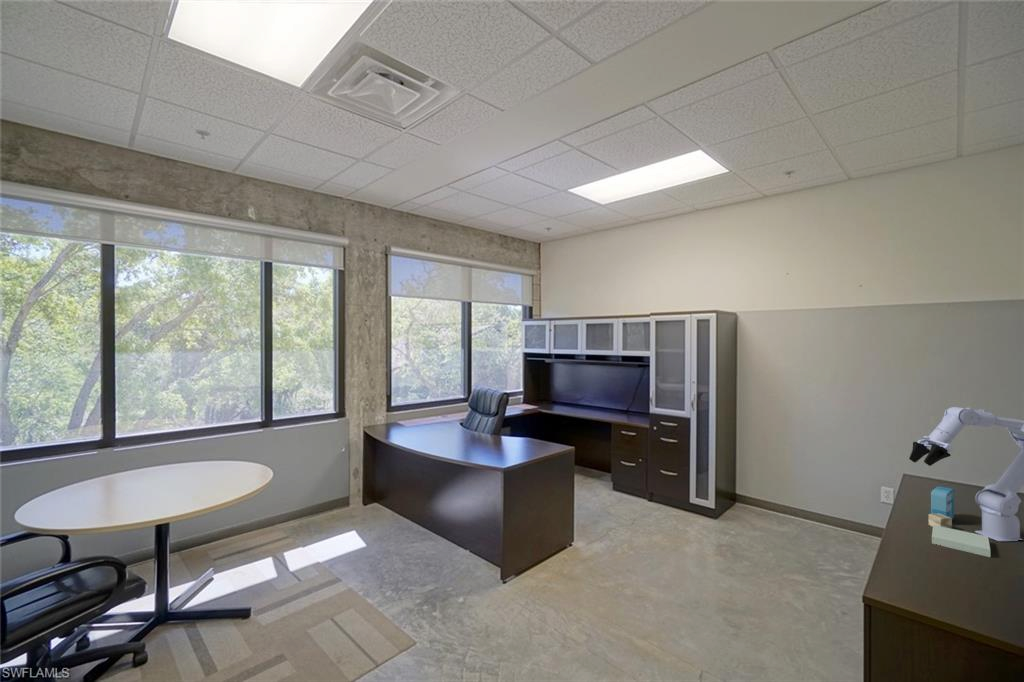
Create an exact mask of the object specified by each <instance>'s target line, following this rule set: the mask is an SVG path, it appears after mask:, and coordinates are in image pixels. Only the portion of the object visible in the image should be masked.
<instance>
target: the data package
mask: <svg viewBox="0 0 1024 682" xmlns="http://www.w3.org/2000/svg"><path fill="white" fill-rule="evenodd" d="M930 514H942V515H944V516H947V517H950V518H952V520H954V518H955V490H954V489H953V488H950V487H945V486H937V487H935V488H934V489H932V491H931V492H930Z"/></svg>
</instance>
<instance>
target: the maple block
mask: <svg viewBox="0 0 1024 682" xmlns="http://www.w3.org/2000/svg"><path fill="white" fill-rule="evenodd" d="M952 520H953V519H952V518H950V517H947V516H944V515H942V514H931V513H928V526H929V525H930V527H932V528H933V525H936V526H941V527H946V528H951V529H953V522H952Z"/></svg>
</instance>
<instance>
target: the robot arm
mask: <svg viewBox="0 0 1024 682" xmlns="http://www.w3.org/2000/svg"><path fill="white" fill-rule="evenodd" d="M943 414H944V416H943V417H942V419H941V421H940V423H938V425H937V426H936V427H935V428H934V430H932V431H931V432H930V434H929V435H928V436H927V435H923V436H922V438H923V439H918V440H917V441H913V442H912V449H911V453H910V456H909V457H908V460H910V461H911V462H913V463H917V462H918V461H920V460H921V459H922V458H923V457H924V456H926V457H925V458H924V460H923V463H925V464H926V465H928V466H929V467H931V466H932V465H933V466H934V464H935V463H938V462H939V461H941V460H943V459H945V458H949V457H951V456H952V455H951V454H950V452H952V451H953V449H954V448H955V447H954V446H953V445H951V443H952V441H954V439H955V438H956V437H957V436H958V435H959V433H960V432H961V431H963V429H964V428H965V427H966V426H975V427H982V428H990V427H992V426H998V427H1001V428H1006V429H1005V430H1006V431H1007V432H1009V435H1010V437H1011V439H1013V441H1014V442H1015V444H1016V445H1017V446H1018V447H1019V448H1020V450H1021V451H1020V452H1019V453H1018V454H1017V456H1016V457H1015V458H1014V459H1013V461H1012V462H1011V464H1010V465H1009V466H1008V468H1006V470H1005V471H1004V473H1003V474H1002V475H1001V477H1000V478H999V479H998V480H997V482H996V483H995V484H994V483H993V484H988V485H986V486H984V487H983V488H982V490H979V491H977V492H976V494H975V497H974V500H975V503H976V505H978V506H979V509H980V510H981V530H974V533H975V534H979V535H984V536H988V539H992V540H995V541H997V542H1019V541H1018V540H1023V541H1024V539H1023V538H1021V522H1020V519H1019V517H1017V516H1016V513H1018V511H1019V506H1020V504H1021V503H1022V500H1021V498H1020V497H1019V495H1017V494H1018V492H1019V491H1020V489H1022V487H1023V486H1024V420H1021V419H1014V418H1008V417H999V416H994V414H993V413H991V412H989V411H987V409H981V408H980V409H973V408H972V407H966V408H965V407H964V408H963V407H960V406H952V407H949V408H946V409H945V411H944V413H943ZM929 448H930V449H929Z"/></svg>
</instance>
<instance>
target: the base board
mask: <svg viewBox="0 0 1024 682" xmlns="http://www.w3.org/2000/svg"><path fill="white" fill-rule="evenodd" d="M989 540H990V538H989V537H988V536H984V535H981V534H978V533H975V532H974V533H973V532H970V531H969V532H968V531H964V530H960V529H954V528H952V529H951V528H946V527H941V526H936V525H933V527H932V533H931V544H933V545H936V544H937V546H940V545H941V547H945V548H950V549H953V550H958V551H961V552H966V553H970V554H975V555H979V556H983V557H988V558H991V546H990V541H989Z"/></svg>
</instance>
